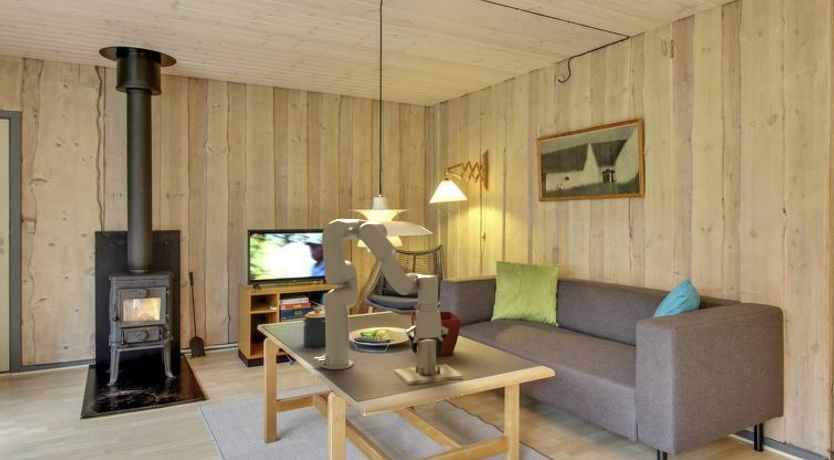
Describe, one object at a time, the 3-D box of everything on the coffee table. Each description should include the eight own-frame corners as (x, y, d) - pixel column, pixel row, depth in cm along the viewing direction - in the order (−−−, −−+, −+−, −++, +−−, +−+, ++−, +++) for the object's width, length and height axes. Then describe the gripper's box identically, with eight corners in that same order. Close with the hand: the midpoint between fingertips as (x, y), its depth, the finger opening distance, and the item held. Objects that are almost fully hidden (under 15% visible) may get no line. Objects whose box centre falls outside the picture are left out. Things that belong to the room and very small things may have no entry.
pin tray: (407, 384, 194) (407, 374, 194) (394, 372, 209) (394, 363, 209) (462, 378, 202) (462, 368, 202) (446, 367, 217) (446, 358, 217)
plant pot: (418, 360, 228) (418, 320, 227) (410, 348, 247) (410, 312, 246) (461, 357, 232) (461, 319, 231) (450, 347, 250) (450, 311, 250)
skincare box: (427, 369, 210) (427, 338, 209) (436, 371, 207) (436, 340, 206) (417, 372, 205) (417, 341, 204) (426, 375, 202) (426, 343, 202)
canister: (298, 344, 255) (298, 307, 255) (323, 340, 263) (322, 304, 263) (310, 349, 245) (310, 311, 244) (335, 345, 253) (335, 308, 252)
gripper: (409, 310, 199) (408, 355, 199) (452, 308, 204) (451, 352, 205) (403, 306, 206) (402, 350, 206) (444, 304, 211) (443, 347, 212)
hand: (426, 351), depth 206 cm, fingers open, 9 cm apart
